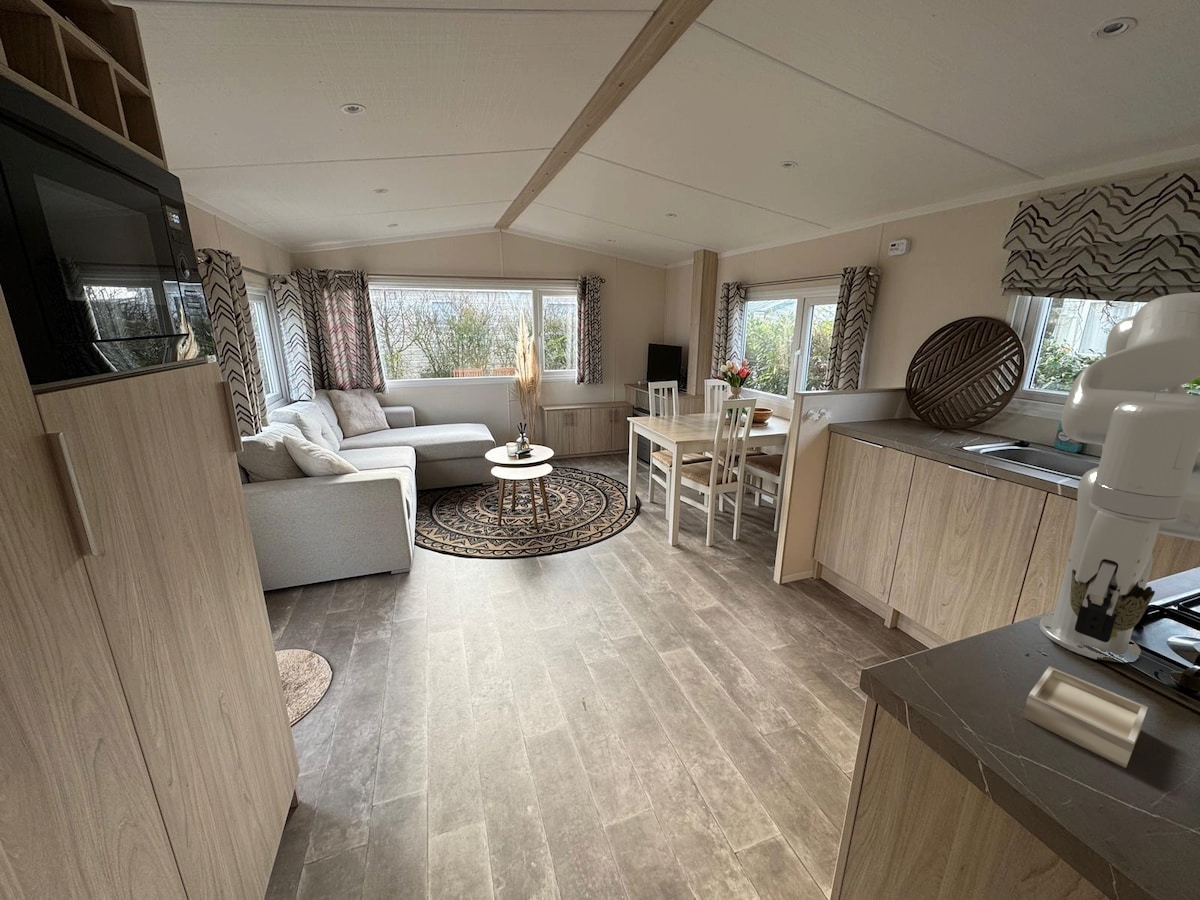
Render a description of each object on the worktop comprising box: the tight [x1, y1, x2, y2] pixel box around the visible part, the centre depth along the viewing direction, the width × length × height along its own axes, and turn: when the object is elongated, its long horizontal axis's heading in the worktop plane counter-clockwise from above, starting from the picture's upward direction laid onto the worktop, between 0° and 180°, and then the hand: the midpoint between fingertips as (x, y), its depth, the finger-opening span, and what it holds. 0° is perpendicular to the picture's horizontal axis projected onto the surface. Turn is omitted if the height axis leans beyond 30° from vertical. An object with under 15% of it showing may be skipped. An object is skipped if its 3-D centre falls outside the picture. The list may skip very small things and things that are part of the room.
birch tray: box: [1022, 665, 1149, 769], centre depth 67 cm, size 10×10×4 cm
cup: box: [1070, 569, 1156, 640], centre depth 64 cm, size 8×7×8 cm
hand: (1099, 624), depth 64 cm, fingers closed on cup, 6 cm apart
